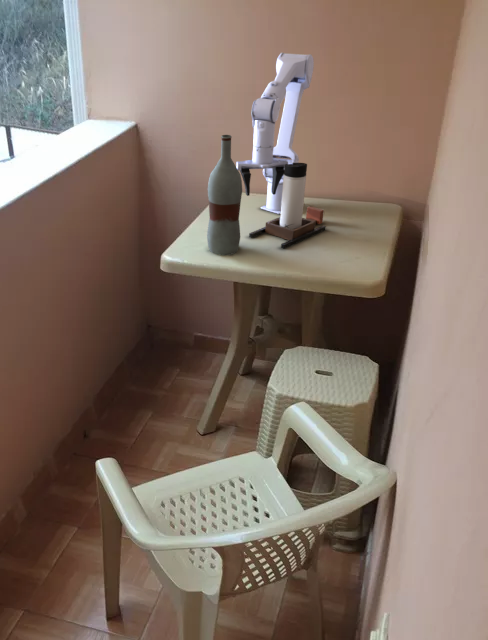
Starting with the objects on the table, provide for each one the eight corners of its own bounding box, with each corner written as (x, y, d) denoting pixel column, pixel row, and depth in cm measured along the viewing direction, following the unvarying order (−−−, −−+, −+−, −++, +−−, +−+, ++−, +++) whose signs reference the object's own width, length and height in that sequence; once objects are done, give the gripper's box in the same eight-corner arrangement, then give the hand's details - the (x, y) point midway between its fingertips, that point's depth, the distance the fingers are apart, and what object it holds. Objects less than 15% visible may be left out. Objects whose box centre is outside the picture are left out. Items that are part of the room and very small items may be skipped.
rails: (291, 219, 201) (291, 215, 200) (325, 230, 194) (325, 226, 193) (249, 237, 189) (249, 233, 189) (283, 248, 182) (284, 244, 181)
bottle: (231, 258, 177) (235, 142, 159) (201, 252, 180) (201, 138, 163) (245, 246, 183) (250, 133, 166) (215, 241, 187) (217, 130, 170)
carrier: (302, 217, 202) (303, 204, 200) (329, 225, 197) (331, 211, 194) (265, 232, 192) (265, 219, 189) (292, 241, 186) (293, 227, 184)
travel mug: (287, 238, 189) (294, 167, 177) (274, 230, 193) (280, 161, 182) (305, 234, 191) (312, 163, 179) (292, 227, 196) (298, 158, 184)
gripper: (240, 150, 179) (238, 199, 186) (292, 148, 180) (288, 197, 188) (235, 143, 184) (234, 191, 192) (286, 141, 186) (282, 189, 194)
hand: (260, 194), depth 190 cm, fingers open, 7 cm apart
